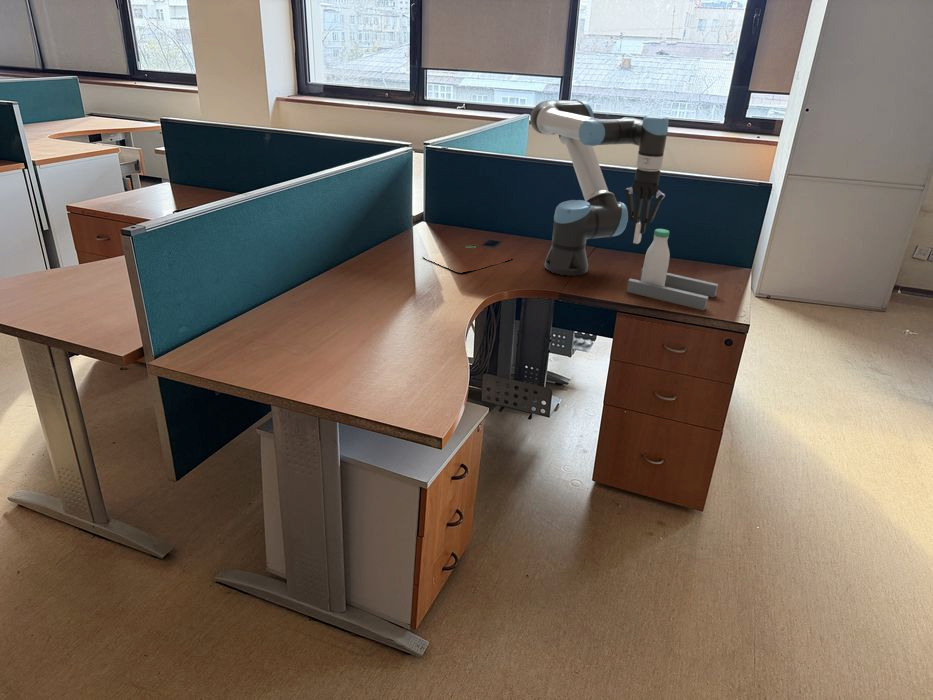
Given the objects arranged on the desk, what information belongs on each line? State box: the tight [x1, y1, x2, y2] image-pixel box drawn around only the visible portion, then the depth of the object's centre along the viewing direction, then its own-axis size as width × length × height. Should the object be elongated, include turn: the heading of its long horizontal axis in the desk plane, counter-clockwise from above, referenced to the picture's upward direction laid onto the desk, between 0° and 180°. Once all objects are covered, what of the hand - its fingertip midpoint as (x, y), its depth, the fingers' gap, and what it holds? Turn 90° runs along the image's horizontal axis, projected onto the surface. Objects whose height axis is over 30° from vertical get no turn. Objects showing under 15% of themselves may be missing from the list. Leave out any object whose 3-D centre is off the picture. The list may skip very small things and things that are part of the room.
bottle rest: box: [626, 267, 719, 311], centre depth 211 cm, size 25×15×4 cm, turn 58°
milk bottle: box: [640, 228, 671, 287], centre depth 211 cm, size 8×8×20 cm
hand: (636, 242), depth 212 cm, fingers closed
